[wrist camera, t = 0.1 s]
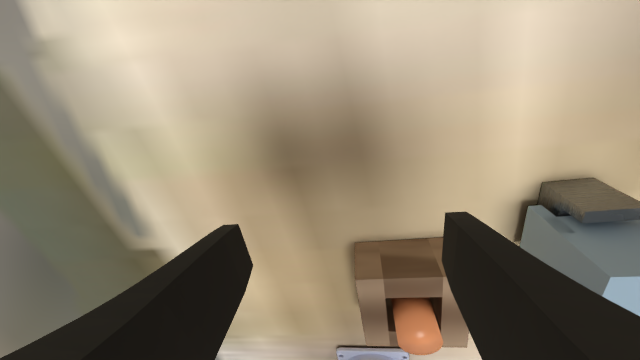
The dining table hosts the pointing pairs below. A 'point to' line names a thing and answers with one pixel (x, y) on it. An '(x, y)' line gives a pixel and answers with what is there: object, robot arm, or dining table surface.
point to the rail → (588, 201)
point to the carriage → (588, 253)
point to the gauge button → (416, 325)
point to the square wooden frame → (404, 288)
